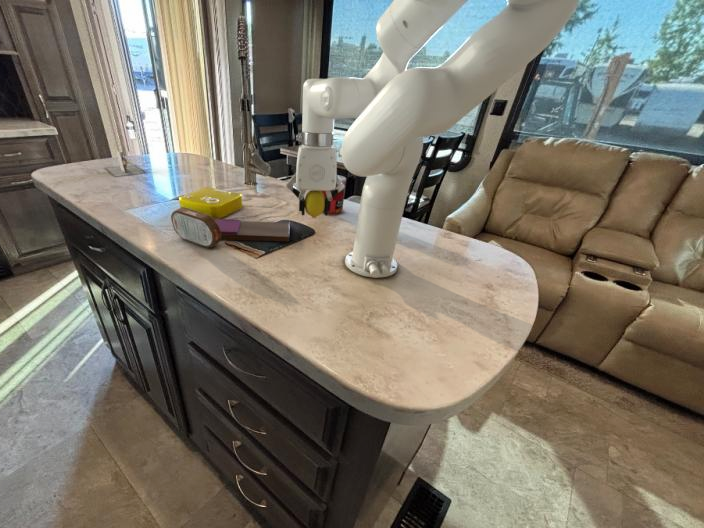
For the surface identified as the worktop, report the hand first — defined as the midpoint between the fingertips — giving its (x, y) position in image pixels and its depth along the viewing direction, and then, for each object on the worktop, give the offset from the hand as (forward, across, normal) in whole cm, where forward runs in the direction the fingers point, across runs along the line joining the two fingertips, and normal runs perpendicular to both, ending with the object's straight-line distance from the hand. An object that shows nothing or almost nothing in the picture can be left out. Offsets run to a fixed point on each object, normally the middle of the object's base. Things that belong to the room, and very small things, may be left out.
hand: (314, 213), depth 88 cm
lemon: (+1, 0, 0) cm, 1 cm away
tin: (+6, -31, -6) cm, 32 cm away
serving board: (+6, -18, +1) cm, 19 cm away
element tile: (+5, -32, +19) cm, 37 cm away
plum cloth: (+5, -24, +1) cm, 25 cm away
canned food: (+6, +7, +22) cm, 24 cm away
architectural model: (+3, -77, +62) cm, 99 cm away
